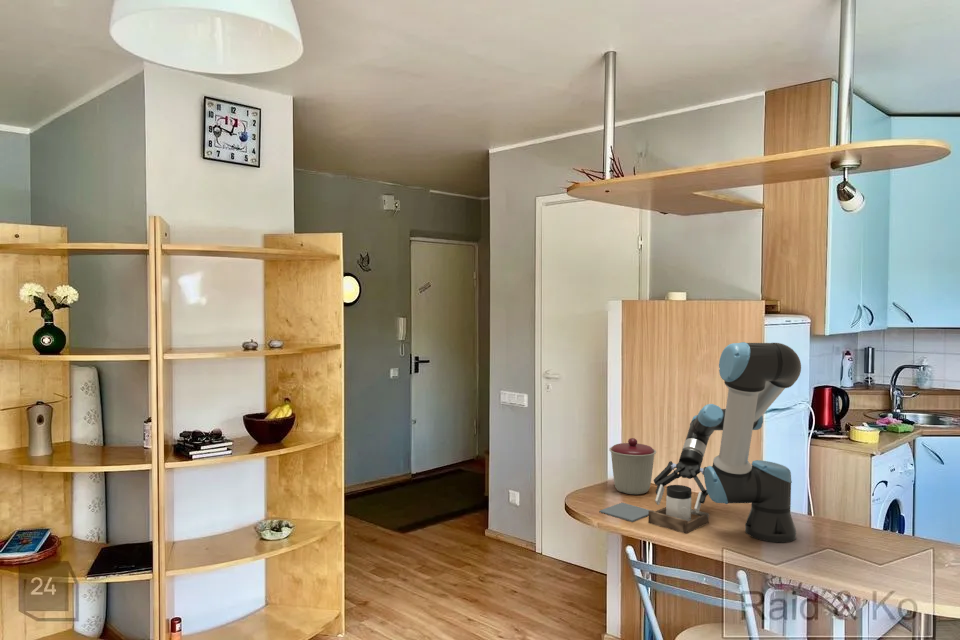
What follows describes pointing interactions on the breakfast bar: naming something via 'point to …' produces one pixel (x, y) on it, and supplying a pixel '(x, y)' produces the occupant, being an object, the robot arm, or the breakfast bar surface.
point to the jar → (679, 502)
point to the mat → (626, 512)
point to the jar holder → (677, 520)
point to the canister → (632, 466)
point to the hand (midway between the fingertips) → (676, 506)
